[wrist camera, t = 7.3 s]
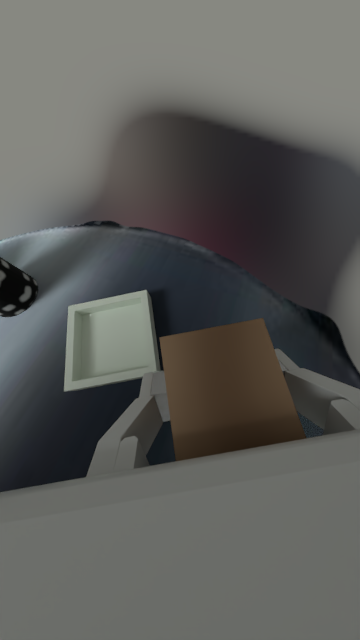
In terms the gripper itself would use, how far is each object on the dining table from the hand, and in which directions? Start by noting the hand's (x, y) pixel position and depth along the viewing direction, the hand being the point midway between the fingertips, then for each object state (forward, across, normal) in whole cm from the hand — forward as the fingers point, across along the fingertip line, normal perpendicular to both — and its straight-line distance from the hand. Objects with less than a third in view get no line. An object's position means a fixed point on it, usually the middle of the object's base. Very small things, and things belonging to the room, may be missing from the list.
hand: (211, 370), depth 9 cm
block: (+3, 0, +4) cm, 5 cm away
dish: (+16, +11, +6) cm, 20 cm away
